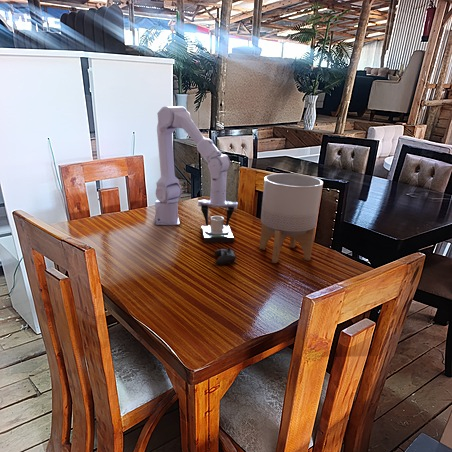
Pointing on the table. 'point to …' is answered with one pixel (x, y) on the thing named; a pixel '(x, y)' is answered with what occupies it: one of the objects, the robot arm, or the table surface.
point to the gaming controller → (225, 256)
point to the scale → (217, 235)
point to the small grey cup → (216, 223)
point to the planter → (290, 211)
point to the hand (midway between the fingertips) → (217, 225)
